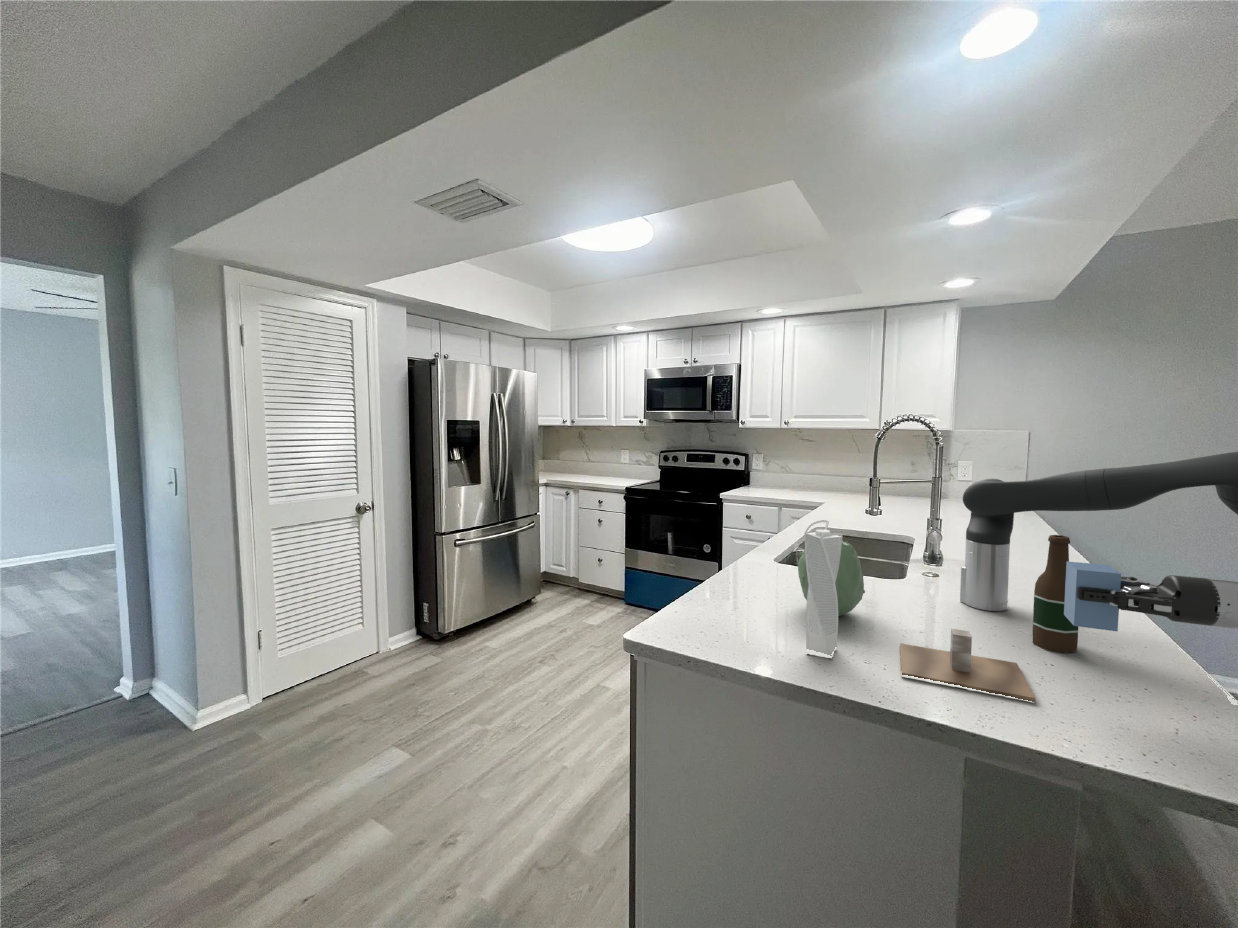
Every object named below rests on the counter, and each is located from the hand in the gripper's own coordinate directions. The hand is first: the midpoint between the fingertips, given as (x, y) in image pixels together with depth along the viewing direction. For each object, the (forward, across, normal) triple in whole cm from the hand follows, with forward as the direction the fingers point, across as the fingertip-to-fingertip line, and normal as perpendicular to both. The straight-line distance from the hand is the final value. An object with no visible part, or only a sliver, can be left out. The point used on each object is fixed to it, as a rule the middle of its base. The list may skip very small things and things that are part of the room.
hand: (1072, 587), depth 88 cm
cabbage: (+41, -20, +19) cm, 50 cm away
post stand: (+16, +1, +19) cm, 25 cm away
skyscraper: (+41, +4, +19) cm, 45 cm away
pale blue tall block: (-3, 0, +6) cm, 7 cm away
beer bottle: (-3, -21, +19) cm, 28 cm away
